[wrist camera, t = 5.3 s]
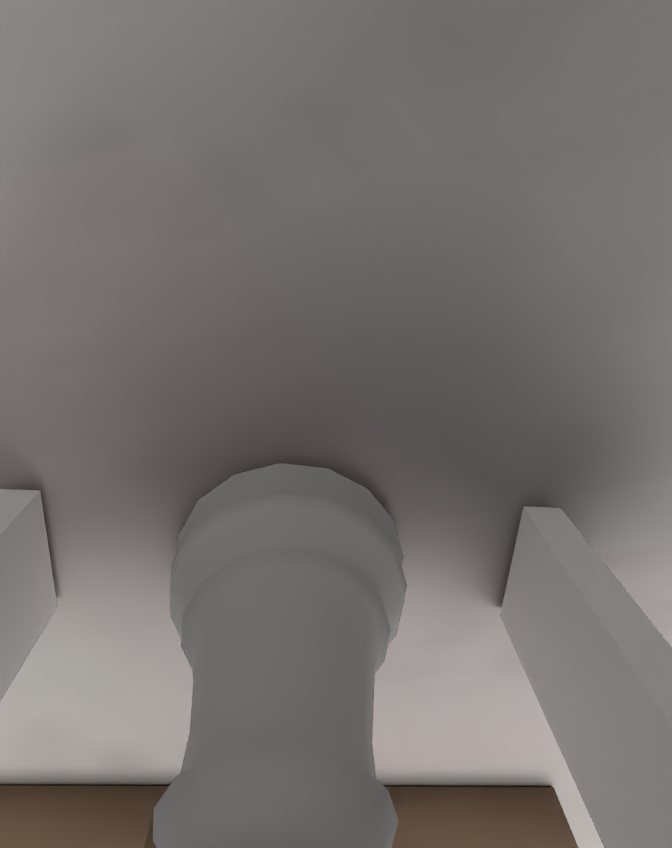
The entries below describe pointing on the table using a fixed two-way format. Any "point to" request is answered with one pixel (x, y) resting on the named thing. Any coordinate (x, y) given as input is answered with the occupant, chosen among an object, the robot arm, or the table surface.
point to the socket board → (415, 806)
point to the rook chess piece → (283, 663)
